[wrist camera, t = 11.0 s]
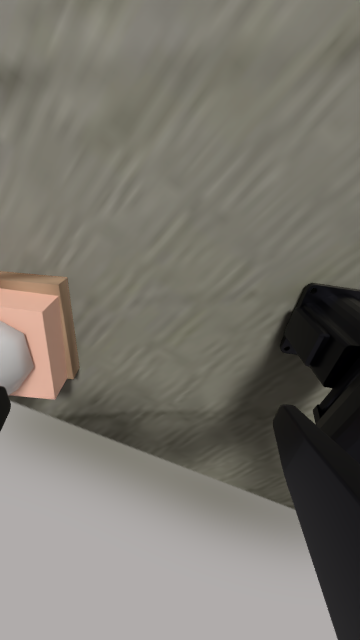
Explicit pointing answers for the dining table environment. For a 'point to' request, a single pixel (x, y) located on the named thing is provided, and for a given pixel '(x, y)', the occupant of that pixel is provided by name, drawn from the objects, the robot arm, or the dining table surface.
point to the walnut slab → (61, 289)
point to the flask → (13, 358)
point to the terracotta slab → (37, 339)
